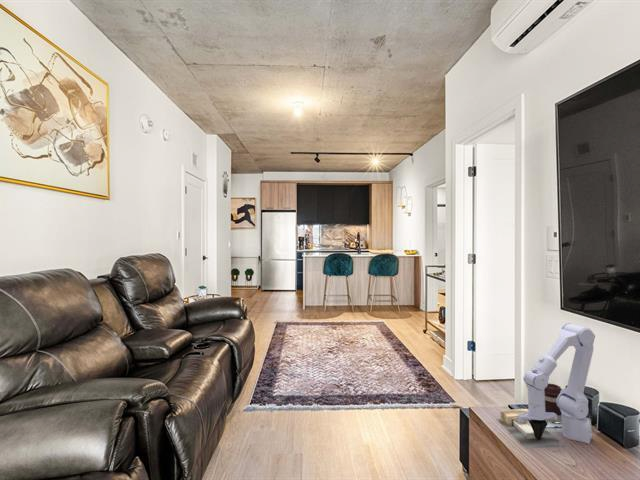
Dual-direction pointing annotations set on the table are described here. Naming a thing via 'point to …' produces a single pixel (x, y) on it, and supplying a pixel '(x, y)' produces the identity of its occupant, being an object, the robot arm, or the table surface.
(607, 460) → the table surface
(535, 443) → the overhang board
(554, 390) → the coffee cup
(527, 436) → the tray shell
